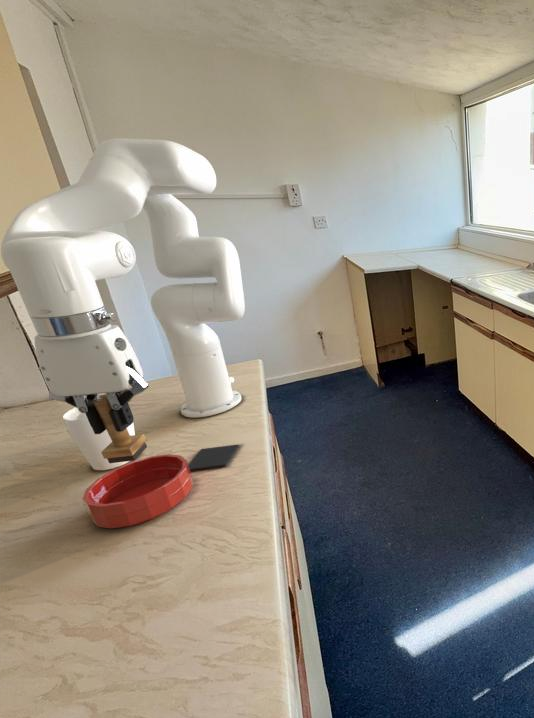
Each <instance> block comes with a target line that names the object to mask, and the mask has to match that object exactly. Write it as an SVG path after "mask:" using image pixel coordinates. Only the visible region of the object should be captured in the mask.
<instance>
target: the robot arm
mask: <svg viewBox="0 0 534 718" xmlns="http://www.w3.org/2000/svg"><path fill="white" fill-rule="evenodd" d="M216 187H217V174H216V172H215V170H214V167H213V166H212V164H211V163H210V161H209V160H208V159H207V158H206V157H205V156H204V155H202V154H200V153H198V152H196V151H194V150H193V149H191V148H189V147H187V146H186V145H183V144H182V143H179V142H175V141H171V140H167V139H153V138H152V139H151V138H149V139H148V138H127V137H119V138H118V137H117V138H116V137H115V138H109V139H105V140H103V141H102V142H100V143H99V144H98V145H97V146H96V149H95V150H94V152H93V154H92V155H91V157H90V159H89V161H88V163H87V165H86V166H85V168H84V170H83V172H82V174H81V176H80V178H79V180H78V181H77V182H76V183H74V184H71V185H69V186H66V187H63V188H61V189H59V190H57V191H55V192H52V193H51V194H47V195H46V196H44V197H42V198H40V199H37V200H35V201H34V202H32V203H30V204H29V205H27V206H25V207H24V208H23V209H22V210H20V211H19V212H18V214H16V216H15V217H13V220H12V222H11V223H10V225H9V226H8V228H7V229H6V231H5V234H4V235H3V238H2V241H1V246H0V256H1V259H2V262H3V264H4V265H5V267H6V268H7V269H8V270H9V273H10V275H11V276H12V277H11V278H12V279H13V281H14V284H15V285H16V288H17V290H18V293H19V295H20V298H21V299H22V302H23V305H24V307H25V309H26V311H27V313H28V316H29V318H30V320H31V323H32V324H33V328H34V329H35V331H36V335H35V336H34V348H35V354H36V358H37V362H38V366H39V369H40V372H41V374H42V377H43V380H44V382H45V384H46V386H47V388H48V390H49V393H48V398H49V399H50V400H53V401H57V402H62V403H67V404H68V405H70V406H73V407H74V408H76V407H77V408H78V411H79V412H81V413H85V414H86V416H87V418H88V421H89V423H90V426H91V427H92V429H93V431H94V433H95V434H101V433H102V432H104V431H105V430H106V428H105V426H104V424H103V422H102V420H101V417H100V415H99V413H98V411H97V409H96V407H95V405H94V403H93V401H92V400H93V399H94V398H95V397H97V396H99V395H100V394H106V396H107V398H108V400H109V403H110V405H111V407H112V408H113V409H112V410H110V411H109V414H110V416H111V419H112V421H113V424H114V426H115V429H116V431H118V432H122V431H124V430H125V429H126V428H127V427H129V426H130V425H131V424H132V423H133V424H134V420H135V419H134V416H133V412H132V410H131V407H130V404H129V403H130V402H131V401H132V399H133V398H134V397H136V396H137V395H139V394H141V393H143V392H145V391H146V390H147V389H149V387H150V385H149V384H148V383H147V382H146V381H145V380H144V379H143V378H144V372H143V369H142V366H141V364H140V361H139V358H138V357H137V354H136V352H135V351H134V348H133V346H132V345H131V342H130V341H129V339H128V338H127V336H126V334H125V333H124V331H123V330H122V328H121V327H119V325H117V324H111V323H112V322H116V321H117V320H118V316H117V314H116V313H115V312H108V310H107V308H106V307H105V304H104V302H103V299H102V297H101V294H100V291H99V288H98V285H97V283H96V282H97V281H100V280H108V279H109V280H110V279H115V278H120V277H122V276H125V275H127V274H129V272H130V271H132V269H133V268H134V267H135V264H136V262H137V261H136V260H137V255H136V251H135V248H134V247H133V245H132V243H131V242H129V240H128V239H126V238H125V237H124V236H122V235H120V234H118V233H115V232H112V231H111V232H110V231H107V230H97V229H101V228H106V227H109V226H113V225H114V226H115V225H117V224H119V223H123V222H126V221H129V220H131V219H133V218H136V217H137V216H139V215H140V214H141V212H142V210H144V212H145V213H146V215H147V218H148V221H149V226H150V227H149V228H150V233H151V241H152V248H153V256H154V261H155V262H154V263H155V266H156V268H157V270H158V273H159V274H161V275H162V276H163V277H166V278H169V279H180V280H181V279H205V278H206V279H207V278H215V279H216V282H198V283H197V282H196V283H195V282H194V283H178V284H176V283H175V284H170V285H165V286H162V287H160V288H157V289H156V290H155V291H154V292H153V293H152V295H151V298H150V304H151V305H150V306H151V309H152V312H153V313H154V315H155V317H156V319H157V320H158V322H159V324H160V326H161V327H162V330H163V332H164V334H165V336H166V340H167V342H168V345H169V348H170V352H171V355H172V358H173V361H174V362H173V363H174V364H175V368H176V371H177V375H178V378H179V381H180V384H181V388H182V392H183V394H184V399H185V401H186V402H185V403H183V404H182V406H180V412H181V415H182V416H184V417H187V418H206V417H210V416H215V415H218V414H221V413H224V412H227V411H230V410H231V409H233V408H235V407H236V406H237V405H238V404H240V403H241V401H242V394H241V393H240V392H239V391H236V390H233V388H232V384H233V383H234V382H235V378H234V377H233V376H229V375H230V374H229V372H228V368H227V365H226V360H225V357H224V352H223V348H222V345H221V340H220V338H219V336H218V334H217V333H216V332H215V331H214V330H213V329H212V328H211V327H210V326H208V325H207V324H212V323H213V324H215V323H224V322H225V323H226V322H234V321H238V320H241V319H242V318H243V316H244V315H245V312H246V310H245V309H246V302H245V292H244V285H243V276H242V270H241V262H240V256H239V253H238V251H237V248H236V247H235V245H234V243H233V242H232V241H231V240H229V239H228V238H225V237H222V236H200V234H199V228H198V222H197V220H198V219H197V218H196V215H195V214H194V213H193V212H192V210H191V209H190V208H188V206H186V205H185V204H184V203H183V202H182V201H180V200H179V199H178V198H177V197H175V196H174V195H181V196H182V195H184V196H185V195H189V196H190V195H192V196H194V195H195V196H197V195H198V196H202V195H209V194H211V193H213V192H214V191H215V189H216Z"/></svg>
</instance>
